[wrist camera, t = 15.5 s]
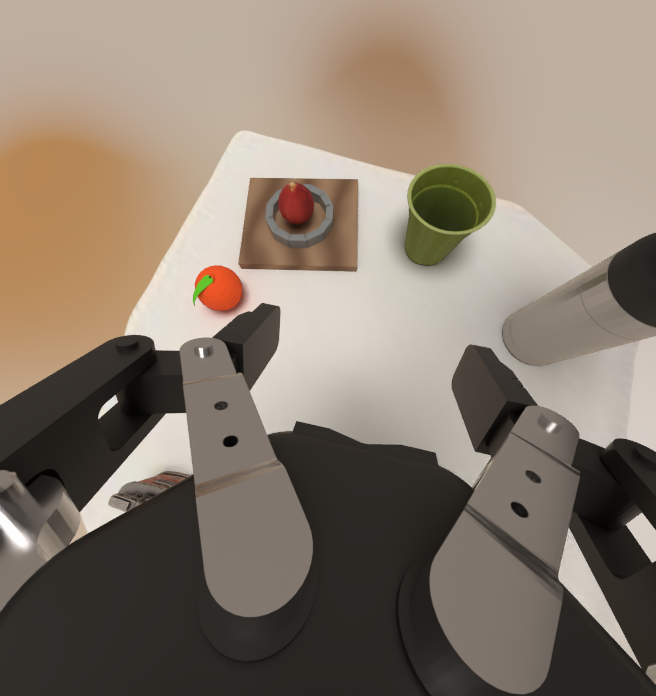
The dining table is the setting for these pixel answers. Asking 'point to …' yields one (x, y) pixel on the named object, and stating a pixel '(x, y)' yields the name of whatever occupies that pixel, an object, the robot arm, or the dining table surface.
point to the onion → (296, 203)
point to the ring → (301, 239)
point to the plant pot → (445, 210)
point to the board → (301, 229)
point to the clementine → (218, 288)
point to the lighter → (144, 490)
